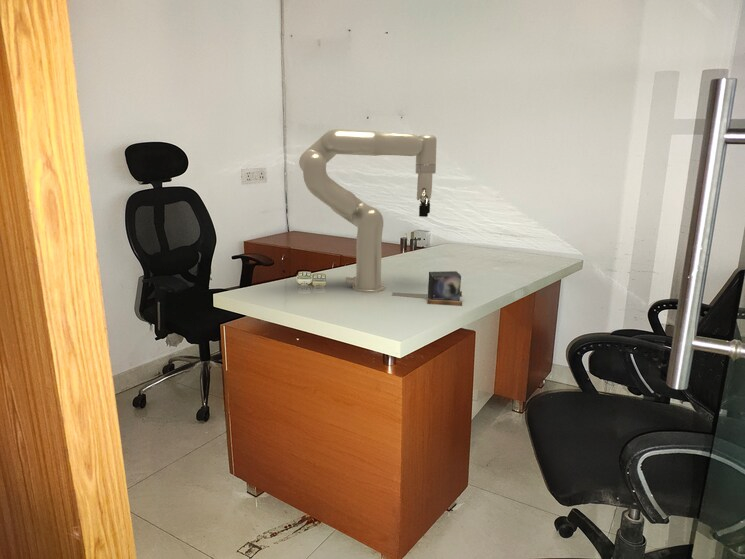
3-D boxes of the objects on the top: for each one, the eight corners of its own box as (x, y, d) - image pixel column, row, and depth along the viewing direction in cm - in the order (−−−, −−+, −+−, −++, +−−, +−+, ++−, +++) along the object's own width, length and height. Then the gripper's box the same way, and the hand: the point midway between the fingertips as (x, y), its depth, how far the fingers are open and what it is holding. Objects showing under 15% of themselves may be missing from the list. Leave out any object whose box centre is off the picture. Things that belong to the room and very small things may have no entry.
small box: (431, 304, 183) (432, 275, 180) (426, 299, 189) (428, 271, 186) (460, 303, 184) (461, 275, 182) (455, 298, 191) (456, 270, 188)
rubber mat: (389, 302, 185) (389, 301, 184) (392, 293, 195) (392, 292, 195) (425, 304, 183) (426, 303, 182) (427, 295, 193) (427, 294, 193)
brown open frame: (427, 306, 181) (427, 300, 181) (429, 294, 194) (429, 289, 194) (461, 308, 179) (462, 302, 179) (461, 296, 193) (461, 291, 192)
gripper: (418, 168, 204) (417, 211, 208) (413, 170, 187) (412, 217, 192) (437, 168, 202) (435, 212, 207) (434, 170, 186) (432, 218, 190)
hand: (424, 214), depth 199 cm, fingers open, 9 cm apart
